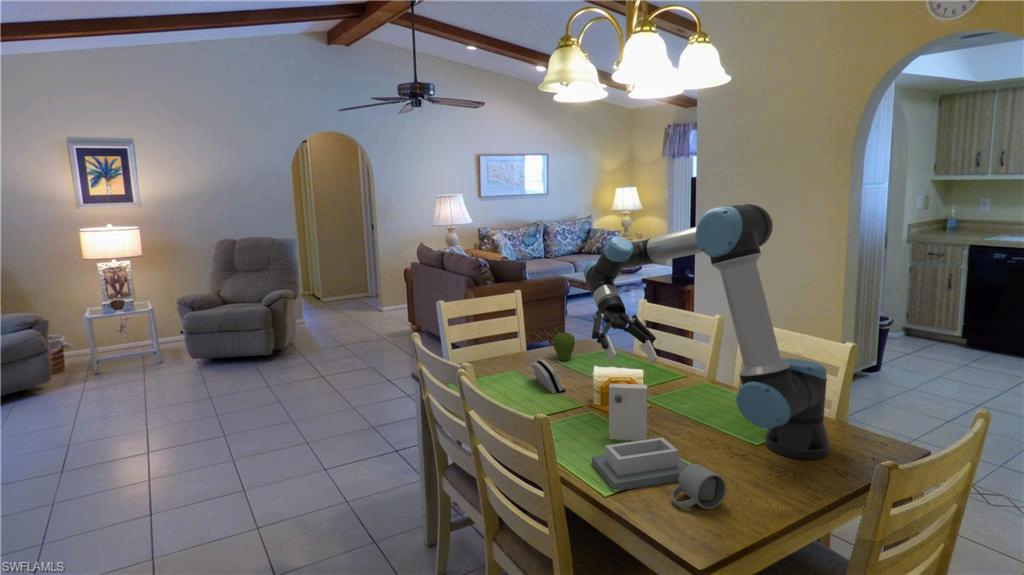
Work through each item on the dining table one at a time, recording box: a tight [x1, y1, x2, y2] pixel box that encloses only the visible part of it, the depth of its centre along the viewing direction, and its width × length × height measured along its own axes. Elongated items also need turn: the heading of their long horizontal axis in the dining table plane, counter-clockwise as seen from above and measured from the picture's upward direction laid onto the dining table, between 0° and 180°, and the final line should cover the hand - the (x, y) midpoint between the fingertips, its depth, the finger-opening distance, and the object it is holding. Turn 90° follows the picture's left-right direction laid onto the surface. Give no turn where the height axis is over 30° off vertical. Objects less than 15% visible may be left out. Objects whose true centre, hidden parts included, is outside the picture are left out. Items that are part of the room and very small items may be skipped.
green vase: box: [552, 331, 576, 362], centre depth 235 cm, size 9×8×12 cm
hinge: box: [531, 358, 568, 395], centre depth 207 cm, size 17×5×10 cm, turn 17°
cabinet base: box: [591, 436, 688, 491], centre depth 146 cm, size 20×14×6 cm
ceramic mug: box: [670, 463, 727, 510], centre depth 131 cm, size 11×8×8 cm
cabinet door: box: [608, 382, 648, 442], centre depth 163 cm, size 10×4×15 cm, turn 79°
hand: (634, 359), depth 164 cm, fingers open, 13 cm apart
